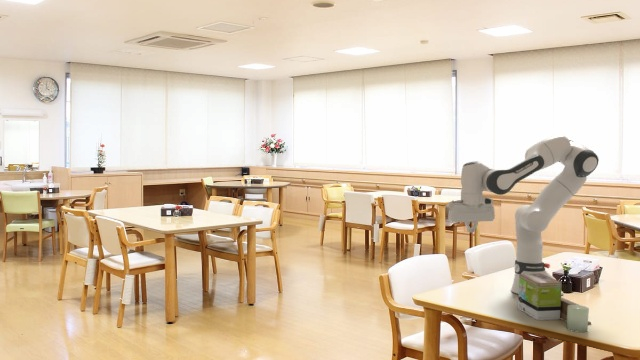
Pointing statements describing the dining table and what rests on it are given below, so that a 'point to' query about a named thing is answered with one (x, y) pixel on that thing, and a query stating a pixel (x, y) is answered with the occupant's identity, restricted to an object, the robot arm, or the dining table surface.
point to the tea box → (540, 296)
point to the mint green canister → (577, 318)
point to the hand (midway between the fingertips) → (471, 232)
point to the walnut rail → (564, 308)
